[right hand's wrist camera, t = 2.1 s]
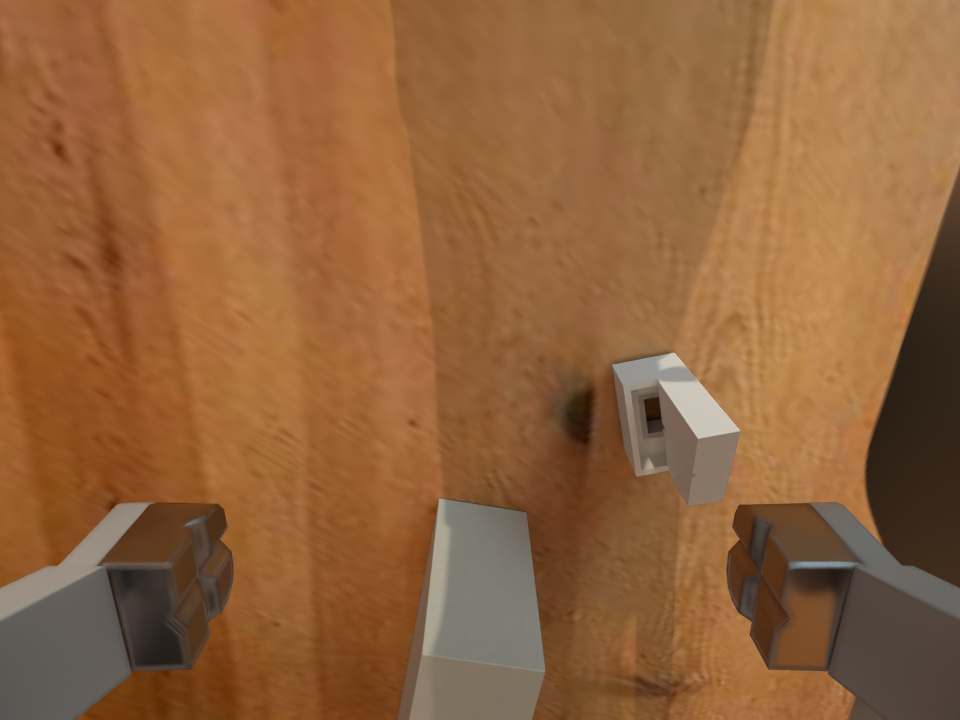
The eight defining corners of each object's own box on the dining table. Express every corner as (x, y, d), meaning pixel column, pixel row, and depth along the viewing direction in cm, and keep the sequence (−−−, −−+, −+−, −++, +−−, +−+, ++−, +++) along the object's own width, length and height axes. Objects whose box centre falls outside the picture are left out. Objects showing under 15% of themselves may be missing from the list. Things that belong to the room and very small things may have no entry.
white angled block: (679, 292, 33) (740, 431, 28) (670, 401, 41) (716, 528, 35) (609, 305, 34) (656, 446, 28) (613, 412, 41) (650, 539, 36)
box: (439, 497, 41) (421, 654, 29) (526, 511, 41) (546, 672, 29) (392, 743, 48) (363, 949, 36) (467, 753, 49) (463, 960, 37)
